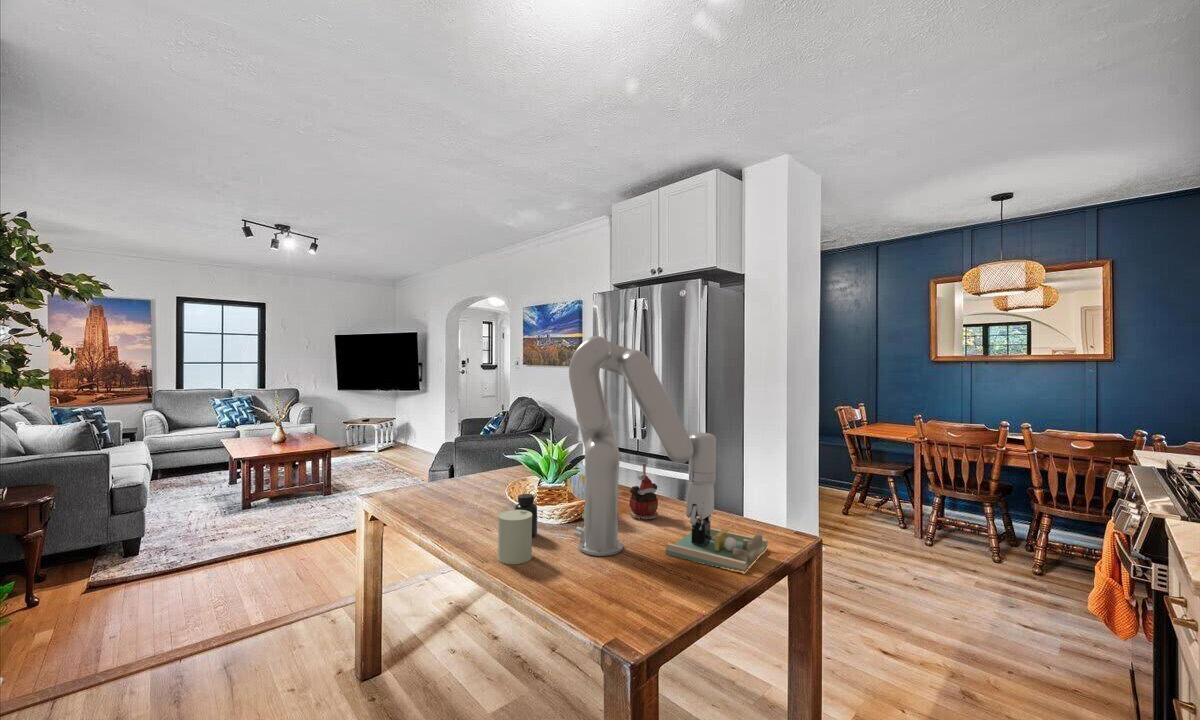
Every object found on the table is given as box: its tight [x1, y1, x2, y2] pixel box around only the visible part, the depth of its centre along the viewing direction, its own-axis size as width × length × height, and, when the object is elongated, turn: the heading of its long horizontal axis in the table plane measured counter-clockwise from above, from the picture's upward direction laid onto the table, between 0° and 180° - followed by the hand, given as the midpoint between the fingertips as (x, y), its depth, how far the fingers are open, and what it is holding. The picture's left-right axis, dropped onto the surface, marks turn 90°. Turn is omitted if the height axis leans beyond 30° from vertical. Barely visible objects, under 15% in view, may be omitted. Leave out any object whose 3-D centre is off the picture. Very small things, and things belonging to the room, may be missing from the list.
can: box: [497, 509, 533, 565], centre depth 135 cm, size 9×9×12 cm
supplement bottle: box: [514, 493, 538, 538], centre depth 151 cm, size 7×7×12 cm
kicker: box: [691, 520, 728, 552], centre depth 142 cm, size 9×6×6 cm
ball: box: [724, 537, 737, 551], centre depth 138 cm, size 4×4×4 cm
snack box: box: [566, 462, 585, 520], centre depth 175 cm, size 21×6×15 cm, turn 22°
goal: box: [733, 533, 763, 563], centre depth 135 cm, size 5×9×5 cm, turn 146°
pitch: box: [665, 527, 769, 572], centre depth 140 cm, size 22×20×3 cm
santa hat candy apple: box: [629, 463, 659, 520], centre depth 171 cm, size 11×9×18 cm
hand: (701, 540), depth 143 cm, fingers closed on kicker, 4 cm apart
